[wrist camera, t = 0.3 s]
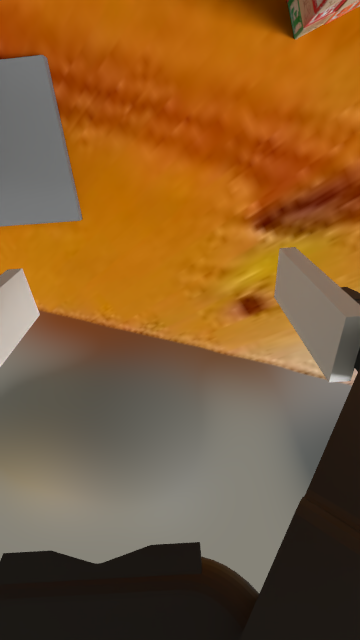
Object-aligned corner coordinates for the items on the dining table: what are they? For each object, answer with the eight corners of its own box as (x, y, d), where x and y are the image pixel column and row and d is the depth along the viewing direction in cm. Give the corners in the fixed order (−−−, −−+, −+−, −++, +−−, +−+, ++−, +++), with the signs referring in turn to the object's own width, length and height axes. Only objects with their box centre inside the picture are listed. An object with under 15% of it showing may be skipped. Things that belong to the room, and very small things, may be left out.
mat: (-82, 72, 33) (-89, 69, 32) (46, 57, 32) (42, 54, 31) (-22, 226, 41) (-27, 228, 40) (82, 219, 40) (79, 220, 39)
